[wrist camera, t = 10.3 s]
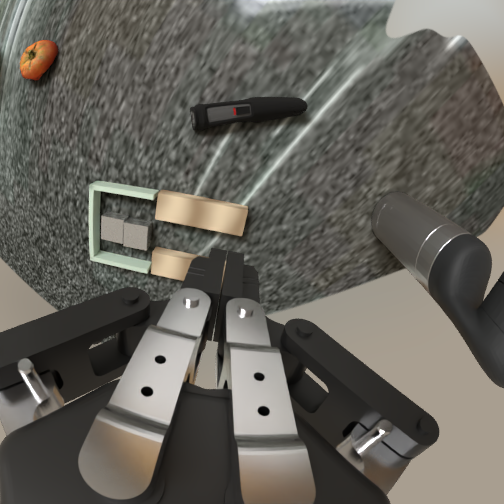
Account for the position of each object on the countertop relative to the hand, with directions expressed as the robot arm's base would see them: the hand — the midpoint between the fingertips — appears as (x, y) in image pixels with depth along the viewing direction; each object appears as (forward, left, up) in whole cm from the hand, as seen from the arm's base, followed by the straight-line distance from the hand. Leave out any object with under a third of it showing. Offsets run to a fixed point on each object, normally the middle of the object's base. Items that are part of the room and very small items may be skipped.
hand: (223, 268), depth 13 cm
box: (+16, +12, -28) cm, 34 cm away
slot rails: (+4, +12, -28) cm, 30 cm away
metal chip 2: (+13, +12, -28) cm, 33 cm away
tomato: (+38, -16, -28) cm, 50 cm away
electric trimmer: (+1, -9, -28) cm, 29 cm away
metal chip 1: (+17, +12, -28) cm, 35 cm away
